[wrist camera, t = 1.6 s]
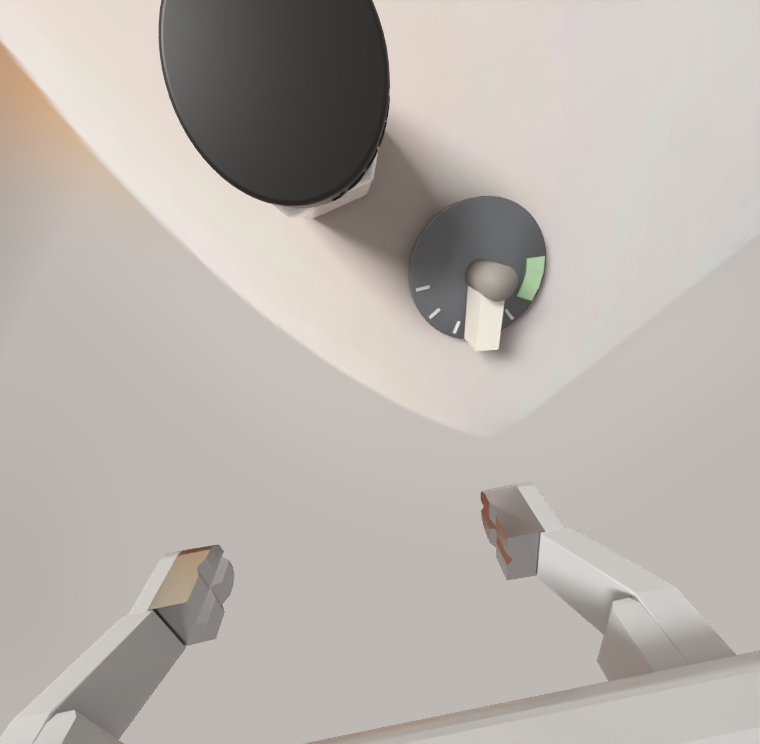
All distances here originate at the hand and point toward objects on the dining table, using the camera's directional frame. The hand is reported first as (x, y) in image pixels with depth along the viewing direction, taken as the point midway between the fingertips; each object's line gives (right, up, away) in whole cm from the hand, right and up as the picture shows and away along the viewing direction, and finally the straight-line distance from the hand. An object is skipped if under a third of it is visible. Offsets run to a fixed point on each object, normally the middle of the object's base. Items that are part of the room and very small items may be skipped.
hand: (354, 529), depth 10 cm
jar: (-4, +21, +12) cm, 24 cm away
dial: (+9, +13, +16) cm, 23 cm away
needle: (+9, +11, +16) cm, 21 cm away
